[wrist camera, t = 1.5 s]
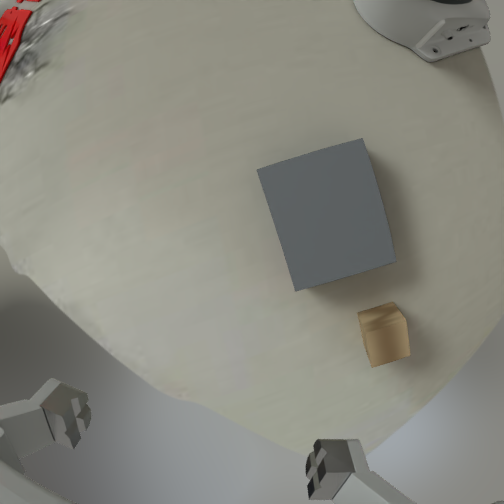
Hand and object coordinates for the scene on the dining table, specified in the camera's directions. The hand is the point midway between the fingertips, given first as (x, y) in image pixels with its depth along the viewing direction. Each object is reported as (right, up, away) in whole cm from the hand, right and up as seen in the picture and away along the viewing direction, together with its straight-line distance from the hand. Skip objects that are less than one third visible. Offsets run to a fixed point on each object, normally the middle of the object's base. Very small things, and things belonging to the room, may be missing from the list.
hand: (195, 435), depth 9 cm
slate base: (+11, +11, +27) cm, 31 cm away
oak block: (+19, -3, +28) cm, 34 cm away
